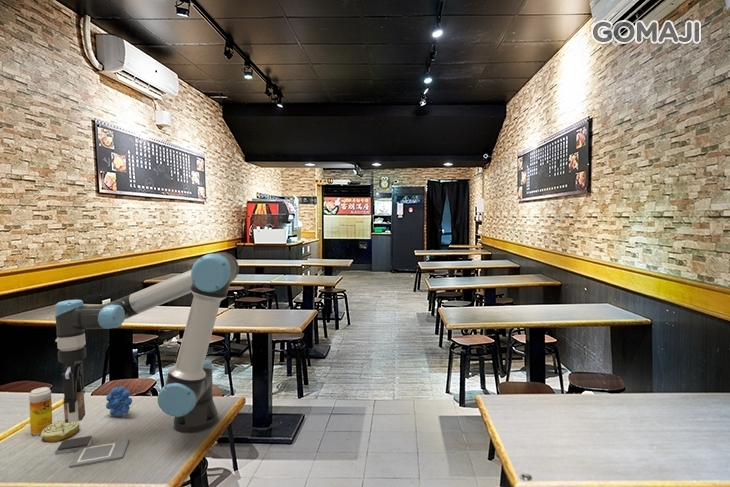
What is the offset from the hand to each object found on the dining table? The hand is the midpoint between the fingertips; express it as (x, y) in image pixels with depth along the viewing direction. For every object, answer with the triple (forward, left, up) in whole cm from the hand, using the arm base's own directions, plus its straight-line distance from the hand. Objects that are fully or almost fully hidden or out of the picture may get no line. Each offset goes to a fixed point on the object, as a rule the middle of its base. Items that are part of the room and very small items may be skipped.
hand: (76, 417), depth 137 cm
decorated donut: (+8, -11, -10) cm, 17 cm away
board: (-8, +8, -10) cm, 15 cm away
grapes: (-9, -20, -10) cm, 24 cm away
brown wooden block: (0, 0, 0) cm, 0 cm away
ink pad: (+1, 0, -10) cm, 10 cm away
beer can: (+15, -16, -10) cm, 24 cm away
